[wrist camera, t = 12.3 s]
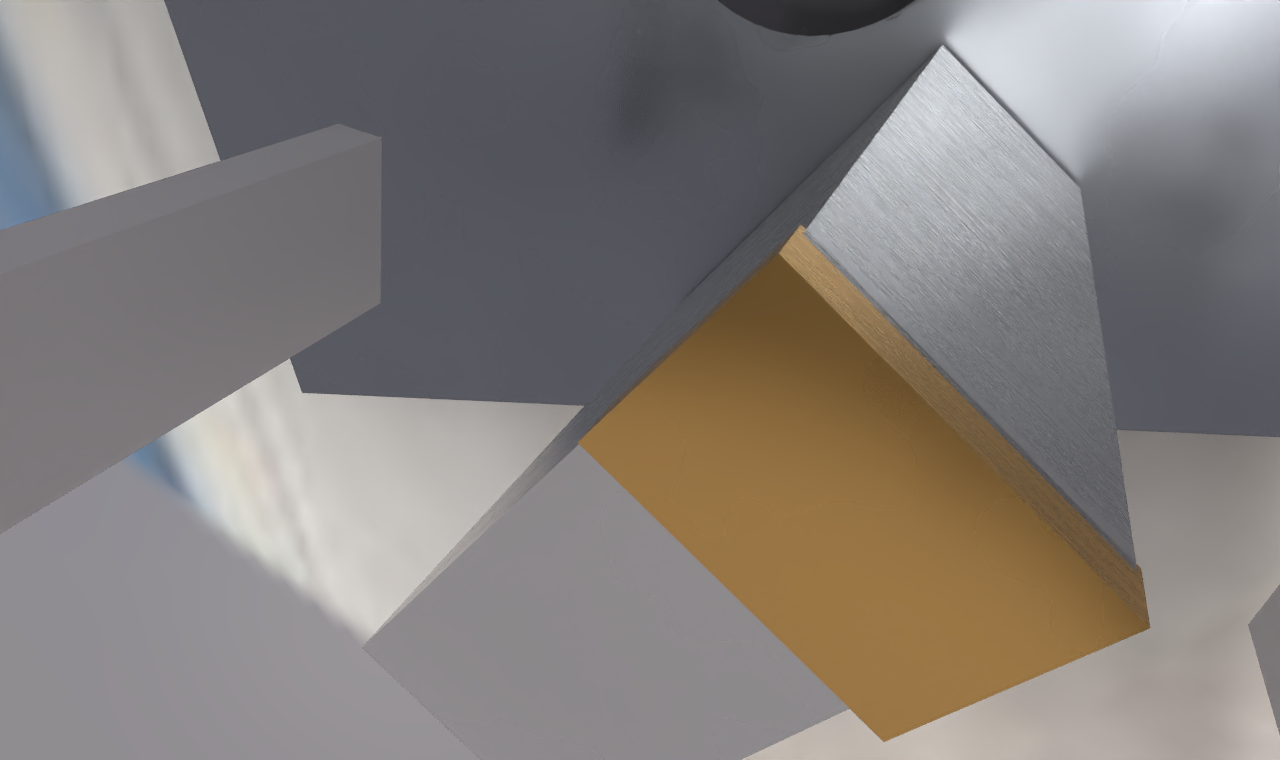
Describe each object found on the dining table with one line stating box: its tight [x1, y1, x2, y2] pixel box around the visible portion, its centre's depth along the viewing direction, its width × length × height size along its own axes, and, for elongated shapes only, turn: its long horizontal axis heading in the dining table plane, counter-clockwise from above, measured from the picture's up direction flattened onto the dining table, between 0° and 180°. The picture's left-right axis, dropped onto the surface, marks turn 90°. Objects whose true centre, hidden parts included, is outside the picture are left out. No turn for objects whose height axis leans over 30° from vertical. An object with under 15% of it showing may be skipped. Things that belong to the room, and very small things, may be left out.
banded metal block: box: [362, 45, 1150, 760], centre depth 12 cm, size 3×7×10 cm, turn 139°
